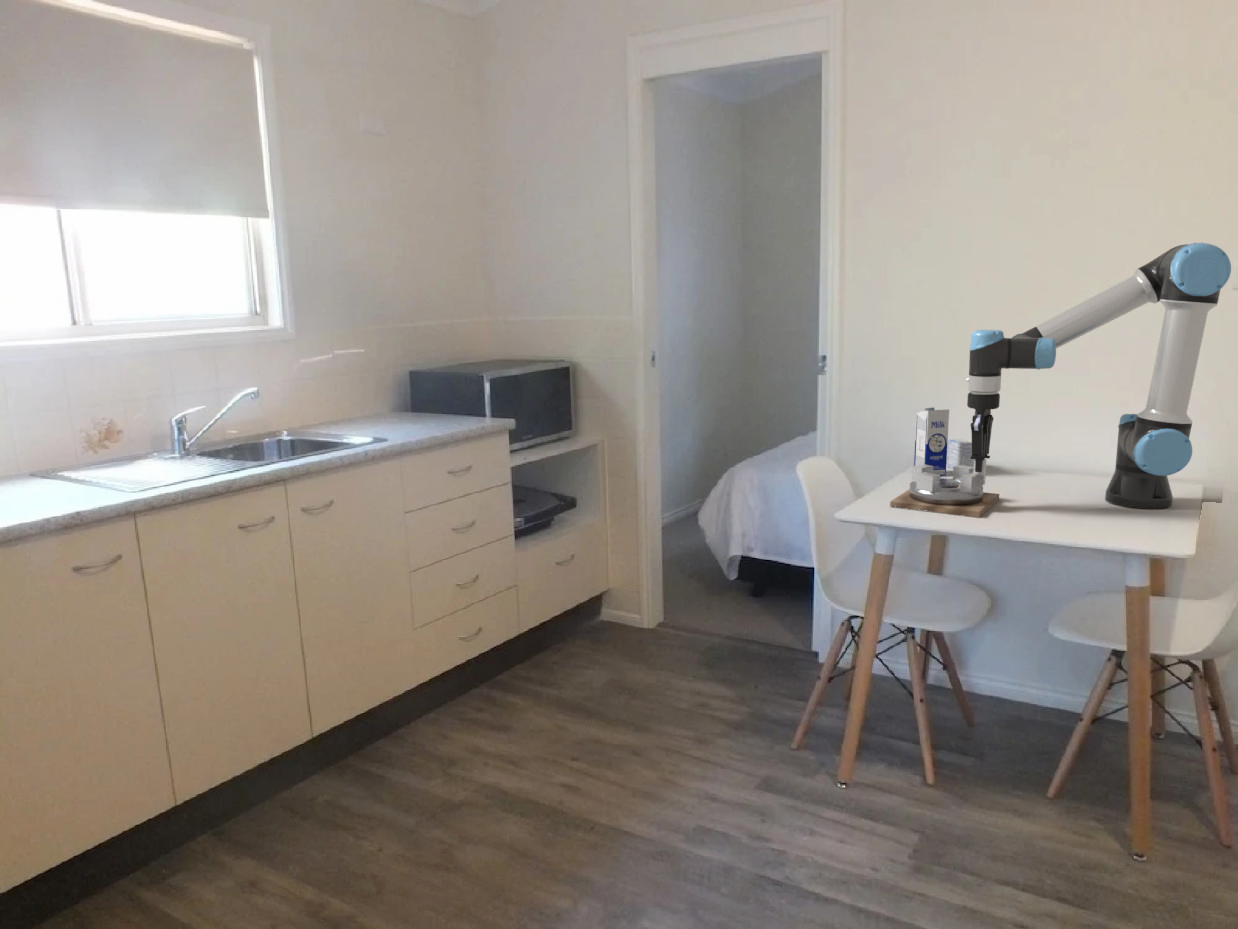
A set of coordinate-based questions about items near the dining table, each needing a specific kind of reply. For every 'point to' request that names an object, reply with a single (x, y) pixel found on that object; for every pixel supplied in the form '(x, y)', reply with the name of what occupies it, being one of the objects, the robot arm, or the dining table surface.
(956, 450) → the medicine box
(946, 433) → the milk carton
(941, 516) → the dining table surface
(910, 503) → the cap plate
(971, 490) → the notched metal disc
